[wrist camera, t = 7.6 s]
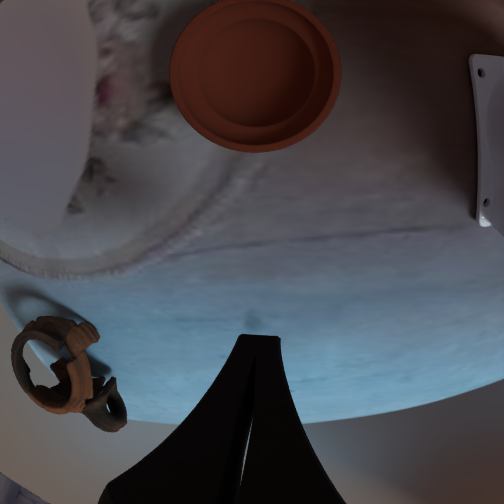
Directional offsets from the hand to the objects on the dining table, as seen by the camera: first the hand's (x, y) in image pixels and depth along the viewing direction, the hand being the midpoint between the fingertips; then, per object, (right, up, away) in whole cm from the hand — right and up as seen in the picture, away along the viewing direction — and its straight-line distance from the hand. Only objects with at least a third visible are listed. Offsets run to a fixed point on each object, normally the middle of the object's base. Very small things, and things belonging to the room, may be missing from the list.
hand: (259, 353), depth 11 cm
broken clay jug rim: (-15, -6, +14) cm, 22 cm away
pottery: (-2, +17, -1) cm, 18 cm away
